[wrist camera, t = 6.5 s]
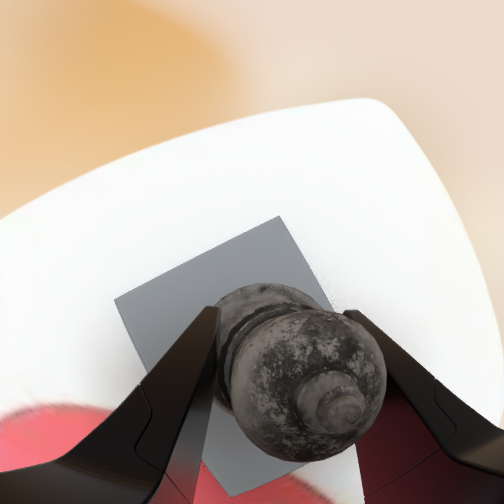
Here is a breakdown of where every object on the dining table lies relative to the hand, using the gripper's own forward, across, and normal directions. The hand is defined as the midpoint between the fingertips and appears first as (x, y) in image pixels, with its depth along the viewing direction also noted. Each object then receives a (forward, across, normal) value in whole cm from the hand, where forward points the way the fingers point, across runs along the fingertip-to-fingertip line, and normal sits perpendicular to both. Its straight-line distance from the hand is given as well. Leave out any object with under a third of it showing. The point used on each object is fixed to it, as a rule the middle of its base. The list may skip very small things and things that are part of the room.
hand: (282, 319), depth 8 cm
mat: (+6, 0, +11) cm, 13 cm away
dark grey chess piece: (+4, 0, +6) cm, 7 cm away
